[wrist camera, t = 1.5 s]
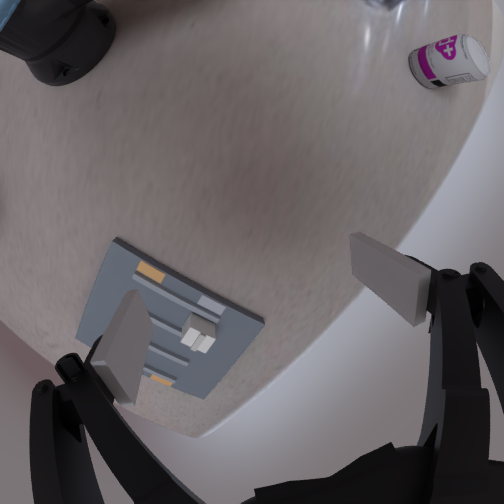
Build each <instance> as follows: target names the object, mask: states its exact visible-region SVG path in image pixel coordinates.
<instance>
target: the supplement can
mask: <svg viewBox="0 0 504 504" xmlns="http://www.w3.org/2000/svg"><path fill="white" fill-rule="evenodd" d="M410 67H411V70H412V72H413V74H414V76H415V77H416V78H417V80H418V81H419V82H420V83H422V84H423V85H424V86H425V87H428V88H437V87H442V86H447V85H453V84H459V83H465V82H471V81H479V80H484V79H485V78H486V77H487V76H488V75H489V74H490V72H491V67H490V62H489V59H488V56H487V54H486V52H485V50H484V48H483V47H482V45H481V44H480V43H479V42H478V40H477V39H476V38H474V37H473V36H470V35H465V34H458V35H455V36H452V37H449V38H446V39H443V40H440V41H437V42H434V43H432V44H429V45H426V46H424V47H421V48H419V49H416V50H414V51H413V52H411V54H410Z"/></svg>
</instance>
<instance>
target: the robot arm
mask: <svg viewBox="0 0 504 504" xmlns="http://www.w3.org/2000/svg"><path fill="white" fill-rule="evenodd" d="M114 35H115V20H114V18H113V16H112V14H111V13H110V11H109V10H108V9H107V8H106V7H105V6H103V5H101V4H99V3H96V2H94V1H93V0H0V50H2V51H4V52H6V53H9V54H11V55H13V56H15V57H17V58H20V59H22V60H24V61H25V62H26V64H27V66H28V67H29V69H30V70H31V72H32V74H33V75H34V76H35V78H36V79H38V80H39V81H41V82H43V83H45V84H48V85H51V86H60V85H65V84H68V83H71V82H73V81H75V80H77V79H79V78H80V77H82V76H83V75H85V74H86V73H87V72H89V71H90V70H91V69H92V68H93V67H94V66H95V65H96V64H97V63H98V62H99V61H100V60H101V59H102V57H103V56H104V55H105V53H106V52H107V50H108V49H109V47H110V45H111V43H112V41H113V38H114ZM349 237H350V248H351V261H352V275H354V276H355V277H356V278H357V279H358V280H360V281H361V282H362V283H363V284H364V285H366V286H367V287H368V288H369V289H370V290H372V291H373V292H374V293H375V294H376V295H378V296H379V297H380V298H381V299H382V300H383V301H385V302H386V303H387V304H388V305H389V306H390V307H392V308H393V309H394V310H395V311H396V312H397V313H398V314H400V315H401V316H402V317H403V318H404V319H405V320H406V321H408V322H409V323H410V324H411V325H412V326H413V327H415V326H417V325H419V324H420V323H422V322H424V321H425V319H426V312H427V311H428V312H430V313H431V314H432V315H431V321H430V327H429V332H428V333H431V341H430V366H429V378H428V389H427V398H426V405H425V412H424V418H423V424H422V429H421V435H420V438H419V441H418V444H417V446H405V447H399V448H394V446H393V444H392V443H391V442H390V443H388V444H386V445H384V446H382V447H380V448H378V449H376V450H374V451H371V452H369V453H367V454H365V455H363V456H360V457H359V458H358V459H356V460H355V461H353V462H352V463H351V464H349V465H347V466H346V467H345V468H343V469H341V470H340V471H338V472H337V473H335V474H333V475H332V476H330V477H326V478H319V479H309V480H299V481H298V480H297V481H287V482H284V483H280V484H276V485H271V486H266V487H261V488H256V489H254V491H255V496H254V497H252V498H250V499H248V500H246V501H244V502H242V503H241V504H504V462H502V461H495V460H488V458H489V444H490V398H489V392H488V389H486V388H481V378H480V367H479V358H478V351H477V345H476V342H477V344H478V346H479V348H480V350H481V352H482V355H483V357H484V360H485V362H486V364H487V367H488V370H489V372H490V375H491V377H492V380H493V383H494V385H495V388H496V391H497V394H498V397H499V400H500V403H501V406H502V410H503V413H504V281H503V280H502V279H501V277H500V276H498V274H497V273H496V272H495V271H494V270H493V269H492V268H491V267H490V266H489V265H487V264H485V263H483V262H479V263H473V264H472V265H471V266H470V272H469V274H465V275H461V274H460V273H459V272H457V271H456V270H453V269H442V270H440V271H438V270H436V269H434V268H432V267H431V266H429V265H427V264H424V262H422V261H419V260H418V259H416V258H414V257H412V256H408V255H403V254H401V253H400V252H398V251H396V250H394V249H392V248H390V247H388V246H386V245H384V244H382V243H381V242H379V241H377V240H375V239H373V238H371V237H369V236H367V235H365V234H363V233H361V232H357V233H354V234H350V235H349ZM153 329H154V325H153V323H152V321H151V318H150V316H149V314H148V311H147V309H146V307H145V304H144V302H143V299H142V297H141V295H140V292H139V290H138V289H134V290H130V291H127V292H126V294H125V296H124V297H123V299H122V301H121V303H120V305H119V306H118V308H117V310H116V312H115V314H114V316H113V317H112V319H111V321H110V323H109V325H108V327H107V329H106V331H105V333H104V334H103V335H101V336H100V337H99V338H98V339H97V340H96V341H95V342H94V344H93V346H92V349H91V350H90V352H89V354H88V356H87V358H86V360H85V362H84V363H83V362H82V360H81V358H80V357H79V355H78V354H77V353H69V354H67V355H64V356H63V357H62V358H60V359H59V360H58V361H57V363H56V365H55V370H56V371H57V372H58V374H59V376H60V377H61V378H62V380H63V381H64V382H65V384H62V385H59V386H55V385H54V384H53V383H52V381H51V380H47V379H46V380H42V381H41V382H38V384H36V386H35V388H34V389H33V391H32V399H31V411H30V412H31V413H30V442H29V443H30V470H31V481H32V491H33V498H34V504H104V501H103V498H102V495H101V492H100V489H99V486H98V482H97V479H96V476H95V472H94V469H93V465H92V461H91V457H90V453H89V448H88V444H87V439H86V435H85V429H84V425H85V427H86V429H87V431H88V433H89V435H90V437H91V438H92V440H93V442H94V444H95V445H96V447H97V449H98V451H99V452H100V454H101V456H102V457H103V459H104V460H105V462H106V464H107V465H108V467H109V468H110V470H111V471H112V473H113V474H114V476H115V477H116V478H117V480H118V481H119V483H120V484H121V485H122V487H123V488H124V489H125V491H126V492H127V493H128V495H129V496H130V497H131V499H132V500H133V501H134V504H206V503H205V502H204V501H202V500H201V499H200V498H199V497H198V496H196V495H195V494H194V493H193V492H192V491H191V490H189V489H188V488H187V487H186V486H185V485H184V484H183V483H182V482H181V481H180V480H178V479H177V478H176V477H175V476H174V475H173V474H172V473H171V472H170V471H169V470H168V469H167V468H166V467H165V466H164V465H163V464H162V463H161V462H160V461H159V460H158V459H157V458H156V456H154V454H153V453H152V452H151V451H150V450H149V449H148V448H147V446H146V445H145V444H144V443H143V442H142V441H141V440H140V438H139V437H138V436H137V435H136V434H135V432H134V431H133V430H132V429H131V428H130V426H129V425H128V424H127V422H126V421H125V420H124V419H123V417H122V416H121V415H120V413H119V412H118V411H117V409H116V408H115V407H114V405H113V402H114V398H115V399H116V401H117V402H118V403H119V405H120V406H133V405H135V403H136V398H137V394H138V389H139V385H140V380H141V376H142V372H143V368H144V364H145V359H146V356H147V352H148V348H149V344H150V340H151V336H152V333H153Z"/></svg>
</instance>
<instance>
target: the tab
mask: <svg viewBox="0 0 504 504" xmlns="http://www.w3.org/2000/svg"><path fill="white" fill-rule="evenodd" d="M215 340H216V334H215V324H214V323H212V322H210V321H208V320H206V319H204V318H202V317H200V316H198V315H196V314H194V313H192V312H191V314H190V315H189V317H188V319H187V320H186V322H185V323H184V325H183V326H182V333H181V343H183V344H185V345H188V346H190V347H191V348H190V349H191V350H193V351H195V352H196V350H199V351H201V352H203V353H206V352H207V351H208V349H209V348H210V347H211V345H212V344H213V343H214V341H215Z"/></svg>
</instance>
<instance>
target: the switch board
mask: <svg viewBox="0 0 504 504" xmlns="http://www.w3.org/2000/svg"><path fill="white" fill-rule="evenodd" d="M134 289H138V290H139V292H140V295H141V297H142V299H143V302H144V304H145V307H146V309H147V311H148V314H149V316H150V318H151V321H152V323H153V325H154V329H153V333H152V336H151V340H150V344H149V348H148V352H147V356H146V359H145V364H144V368H143V372H142V374H143V375H145V376H147V377H149V378H152V379H154V380H156V381H158V382H161V383H163V384H165V385H168V386H170V387H173V388H175V389H178V390H180V391H183V392H185V393H188V394H190V395H193V396H196V397H199V398H201V399H205V398H206V396H207V395H208V394H209V393H210V392H211V391H212V389H213V388H214V387H215V386H216V385H217V384H218V382H219V381H220V380H221V379H222V378H223V376H224V375H225V374H226V373H227V372H228V370H229V369H230V368H231V367H232V366H233V364H234V363H235V362H236V361H237V359H238V358H239V357H240V356H241V355H242V353H243V352H244V351H245V350H246V348H247V347H248V346H249V345H250V343H251V342H252V341H253V340H254V338H255V337H256V336H257V334H258V333H259V332H260V331H261V329H262V328H263V327H264V325H265V323H264V320H263V318H261V317H259V316H257V315H255V314H253V313H251V312H249V311H247V310H246V309H244V308H242V307H240V306H238V305H236V304H234V303H232V302H230V301H228V300H226V299H224V298H222V297H220V296H219V295H217V294H215V293H213V292H211V291H209V290H207V289H205V288H204V287H202V286H200V285H198V284H196V283H194V282H193V281H191V280H189V279H187V278H185V277H183V276H182V275H180V274H178V273H176V272H175V271H173V270H171V269H169V268H168V267H166V266H164V265H162V264H161V263H159V262H157V261H155V260H154V259H152V258H150V257H148V256H147V255H145V254H143V253H142V252H140V251H138V250H137V249H135V248H133V247H132V246H130V245H128V244H127V243H125V242H123V241H122V240H120V239H119V238H117V237H116V238H115V239H114V240H113V241H112V243H111V245H110V247H109V249H108V251H107V254H106V256H105V258H104V261H103V263H102V265H101V268H100V270H99V273H98V275H97V278H96V280H95V283H94V285H93V288H92V290H91V293H90V296H89V299H88V301H87V304H86V307H85V310H84V313H83V316H82V319H81V322H80V325H79V328H78V331H77V334H76V339H77V340H79V341H81V342H82V343H84V344H86V345H87V346H89V347H91V348H92V346H93V344H94V342H95V341H96V340H97V339H98V338H99V337H100V336H101V335H103V334H104V333H105V331H106V329H107V327H108V325H109V323H110V321H111V319H112V317H113V316H114V314H115V312H116V310H117V308H118V306H119V305H120V303H121V301H122V299H123V297H124V296H125V294H126V292H127V291H130V290H134ZM191 312H192V313H194V314H196V315H198V316H200V317H202V318H204V319H206V320H208V321H210V322H212V323H214V324H215V334H216V340H215V341H214V343H213V344H212V345H211V347H210V348H209V349H208V351H207V352H206V353H203V352H201V351H199V350H196V352H195V351H193V350H191V349H190V348H191V347H190V346H188V345H185V344H183V343H181V333H182V326H183V325H184V323H185V322H186V320H187V319H188V317H189V315H190V314H191Z"/></svg>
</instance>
